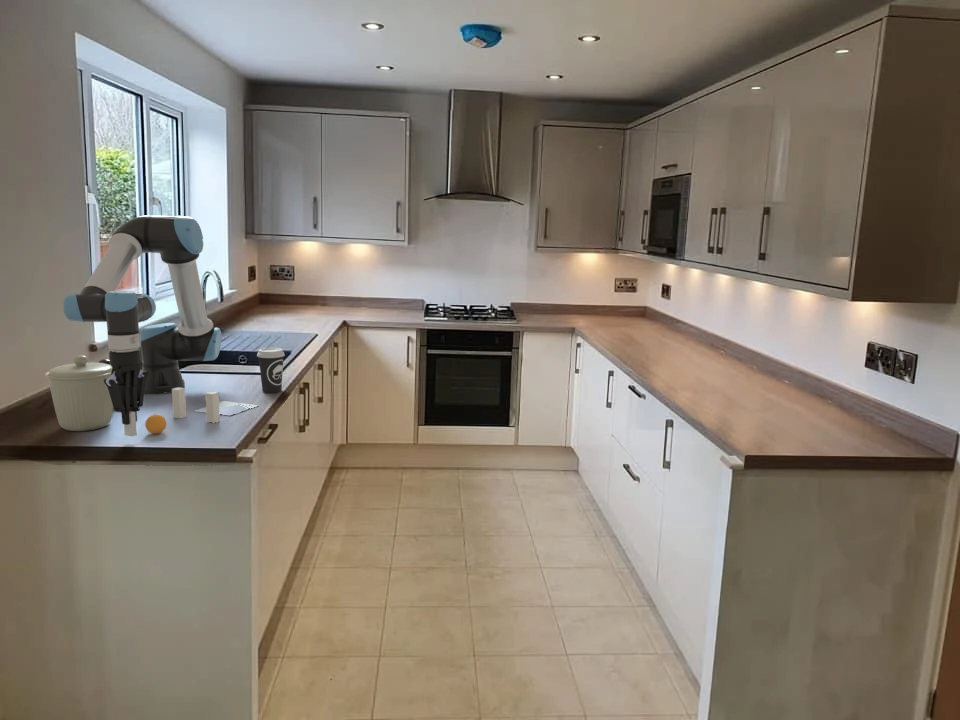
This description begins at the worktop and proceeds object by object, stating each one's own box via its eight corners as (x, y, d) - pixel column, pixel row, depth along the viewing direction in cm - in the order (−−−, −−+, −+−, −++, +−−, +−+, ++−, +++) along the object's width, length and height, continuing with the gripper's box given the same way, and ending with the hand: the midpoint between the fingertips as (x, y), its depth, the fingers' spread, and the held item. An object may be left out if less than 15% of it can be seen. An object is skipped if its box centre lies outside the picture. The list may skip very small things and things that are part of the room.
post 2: (212, 420, 217) (211, 391, 216) (219, 421, 217) (218, 392, 215) (206, 422, 215) (205, 393, 213) (213, 423, 214) (212, 394, 212)
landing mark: (223, 401, 240) (223, 400, 240) (258, 406, 235) (258, 405, 235) (194, 411, 227) (194, 410, 227) (230, 416, 222) (230, 415, 222)
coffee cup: (285, 387, 262) (283, 346, 259) (286, 393, 253) (285, 351, 250) (257, 388, 259) (256, 347, 256) (258, 394, 250) (256, 352, 247)
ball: (156, 429, 207) (155, 411, 206) (171, 432, 205) (170, 413, 204) (141, 434, 202) (140, 415, 200) (156, 437, 200) (155, 418, 199)
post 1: (179, 415, 222) (177, 387, 220) (186, 416, 221) (184, 388, 219) (173, 417, 219) (171, 389, 218) (180, 418, 218) (178, 389, 217)
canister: (114, 433, 202) (108, 360, 198) (42, 437, 197) (34, 362, 193) (126, 416, 219) (121, 349, 215) (59, 420, 214) (53, 350, 210)
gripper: (115, 354, 183) (122, 443, 187) (154, 346, 195) (159, 430, 199) (93, 352, 185) (100, 439, 190) (133, 344, 197) (138, 427, 202)
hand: (130, 434), depth 194 cm, fingers closed
